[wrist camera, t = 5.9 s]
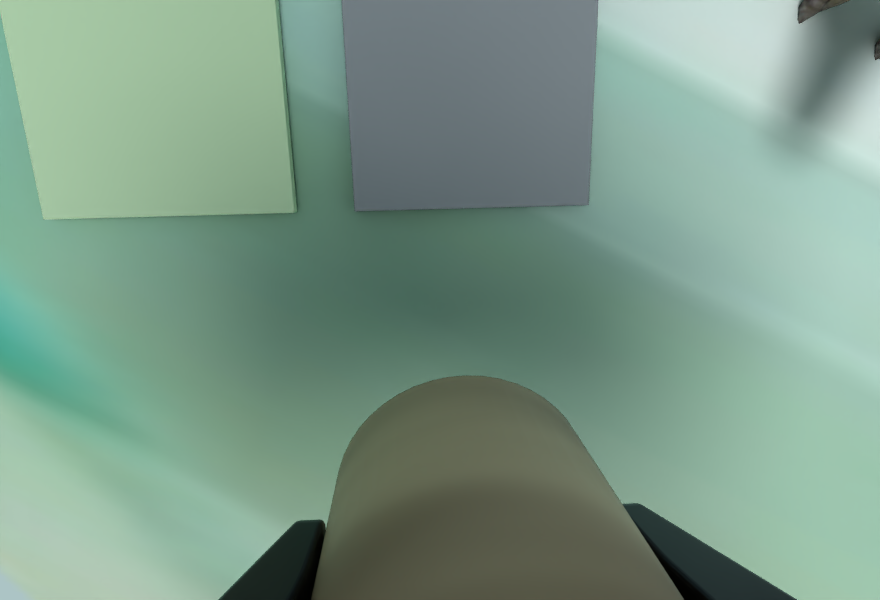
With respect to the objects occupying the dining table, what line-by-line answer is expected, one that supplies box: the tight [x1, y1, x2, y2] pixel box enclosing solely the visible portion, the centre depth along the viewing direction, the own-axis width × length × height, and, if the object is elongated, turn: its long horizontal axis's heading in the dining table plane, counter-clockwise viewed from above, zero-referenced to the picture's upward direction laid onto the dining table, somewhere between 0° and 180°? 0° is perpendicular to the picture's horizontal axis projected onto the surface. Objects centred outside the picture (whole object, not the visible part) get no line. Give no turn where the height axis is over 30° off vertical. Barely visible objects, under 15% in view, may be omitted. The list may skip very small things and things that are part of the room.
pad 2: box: [342, 0, 598, 211], centre depth 17 cm, size 8×8×1 cm
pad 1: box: [0, 0, 297, 220], centre depth 16 cm, size 8×8×1 cm
